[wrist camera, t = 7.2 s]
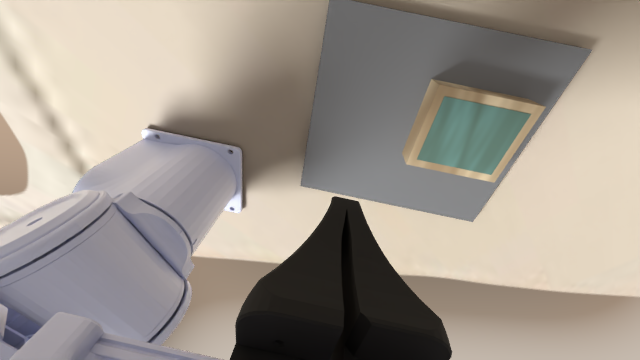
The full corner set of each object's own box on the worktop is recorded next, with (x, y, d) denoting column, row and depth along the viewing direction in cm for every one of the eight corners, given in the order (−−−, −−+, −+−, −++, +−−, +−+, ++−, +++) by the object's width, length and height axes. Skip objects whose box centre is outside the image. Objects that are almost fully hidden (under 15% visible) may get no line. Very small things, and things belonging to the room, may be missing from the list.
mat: (301, 181, 25) (300, 185, 24) (330, -3, 16) (330, -4, 16) (469, 216, 25) (472, 221, 24) (582, 48, 16) (592, 49, 16)
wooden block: (406, 164, 19) (494, 183, 19) (439, 85, 16) (546, 107, 16) (401, 153, 21) (483, 169, 21) (431, 78, 18) (527, 98, 18)
